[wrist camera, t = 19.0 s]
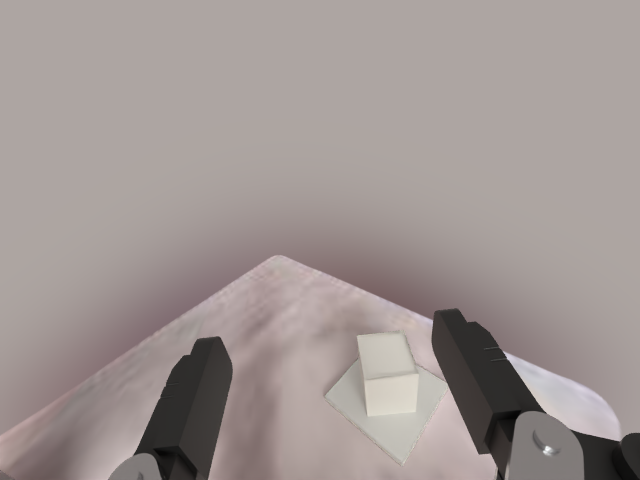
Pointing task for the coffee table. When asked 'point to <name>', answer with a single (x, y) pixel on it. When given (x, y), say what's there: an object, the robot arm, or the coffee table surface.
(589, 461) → the robot arm
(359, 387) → the grey mat
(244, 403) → the coffee table surface
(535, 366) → the coffee table surface
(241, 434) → the coffee table surface
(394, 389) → the white rectangular block
